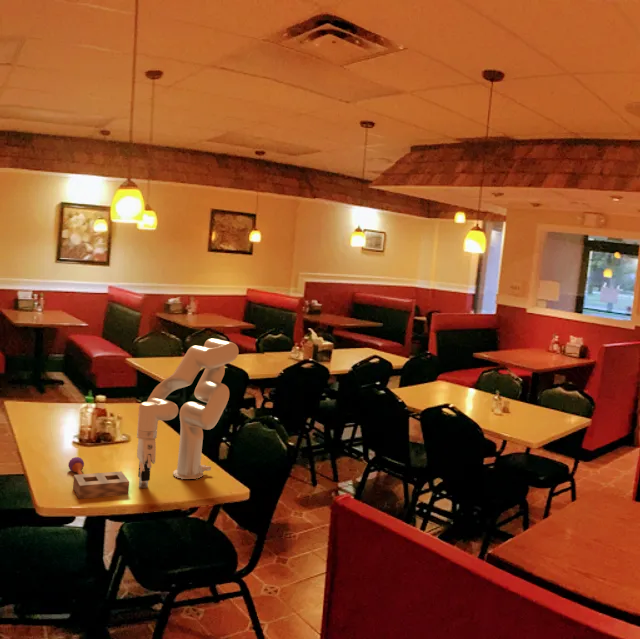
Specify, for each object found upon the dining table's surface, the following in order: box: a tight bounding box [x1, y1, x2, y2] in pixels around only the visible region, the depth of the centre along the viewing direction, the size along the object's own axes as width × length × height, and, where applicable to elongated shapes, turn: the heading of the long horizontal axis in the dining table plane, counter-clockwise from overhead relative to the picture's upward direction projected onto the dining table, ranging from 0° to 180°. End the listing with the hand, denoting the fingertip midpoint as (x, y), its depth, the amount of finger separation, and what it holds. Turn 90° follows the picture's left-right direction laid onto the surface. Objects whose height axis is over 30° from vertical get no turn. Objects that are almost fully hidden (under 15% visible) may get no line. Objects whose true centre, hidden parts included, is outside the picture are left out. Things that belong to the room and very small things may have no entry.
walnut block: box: [72, 470, 130, 500], centre depth 248 cm, size 18×12×5 cm, turn 121°
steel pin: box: [138, 462, 149, 489], centre depth 256 cm, size 4×4×10 cm
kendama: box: [68, 456, 85, 475], centre depth 260 cm, size 6×6×20 cm
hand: (143, 478), depth 256 cm, fingers closed on steel pin, 3 cm apart
